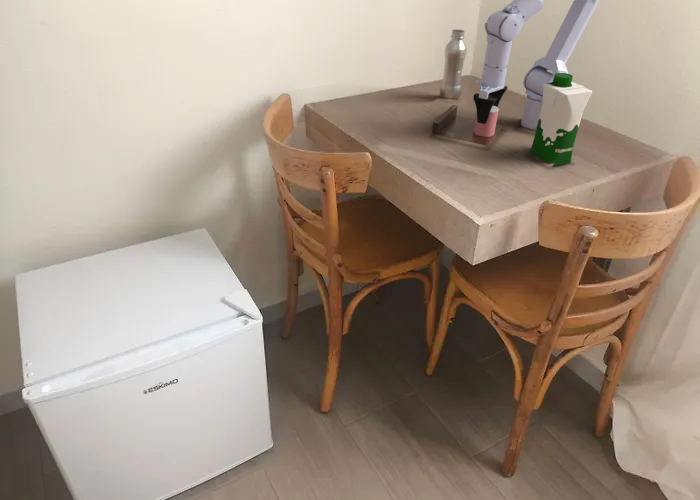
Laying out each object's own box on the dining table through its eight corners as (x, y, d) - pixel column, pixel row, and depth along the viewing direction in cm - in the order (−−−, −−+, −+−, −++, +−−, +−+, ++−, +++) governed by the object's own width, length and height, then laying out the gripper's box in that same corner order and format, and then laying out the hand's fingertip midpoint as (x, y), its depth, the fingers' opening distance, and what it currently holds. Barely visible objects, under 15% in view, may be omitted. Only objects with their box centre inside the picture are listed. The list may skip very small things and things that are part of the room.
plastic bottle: (463, 98, 167) (473, 30, 155) (454, 104, 162) (464, 34, 151) (444, 94, 170) (452, 27, 158) (435, 100, 165) (443, 31, 153)
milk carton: (551, 149, 137) (571, 70, 125) (576, 164, 130) (600, 82, 119) (523, 155, 134) (541, 74, 122) (547, 170, 127) (569, 86, 116)
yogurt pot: (496, 131, 143) (501, 106, 139) (490, 138, 139) (495, 113, 135) (476, 127, 145) (480, 102, 141) (470, 134, 141) (474, 109, 137)
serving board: (502, 130, 147) (505, 115, 144) (486, 150, 136) (489, 134, 133) (450, 119, 152) (452, 104, 150) (431, 137, 142) (433, 122, 139)
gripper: (488, 55, 138) (479, 106, 146) (470, 69, 128) (462, 123, 136) (515, 59, 136) (505, 111, 144) (499, 74, 125) (489, 129, 133)
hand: (486, 118), depth 139 cm, fingers open, 7 cm apart
